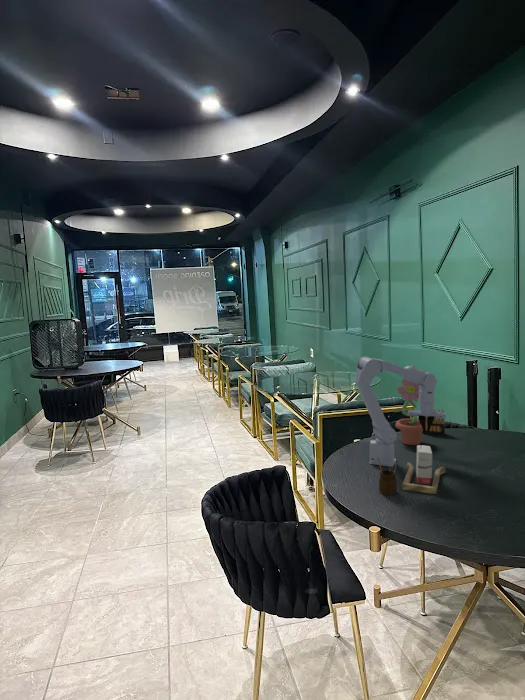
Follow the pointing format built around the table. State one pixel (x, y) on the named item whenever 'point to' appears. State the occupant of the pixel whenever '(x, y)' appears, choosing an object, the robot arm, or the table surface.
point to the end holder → (421, 488)
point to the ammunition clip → (437, 426)
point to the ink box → (424, 464)
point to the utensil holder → (387, 481)
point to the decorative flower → (408, 426)
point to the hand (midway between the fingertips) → (426, 434)
